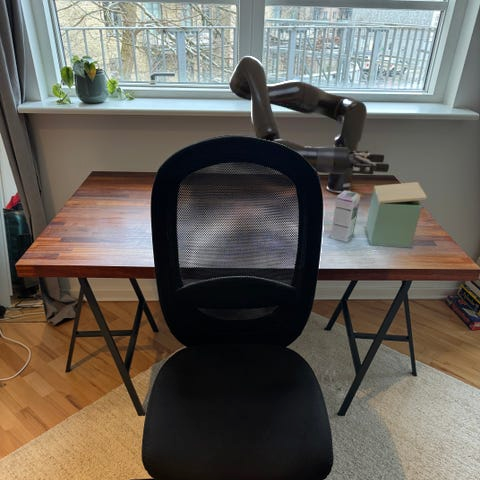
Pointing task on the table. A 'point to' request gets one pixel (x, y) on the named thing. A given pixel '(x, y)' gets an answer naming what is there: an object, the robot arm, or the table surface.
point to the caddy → (392, 222)
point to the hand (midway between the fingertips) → (386, 163)
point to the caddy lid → (400, 192)
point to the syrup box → (345, 215)
